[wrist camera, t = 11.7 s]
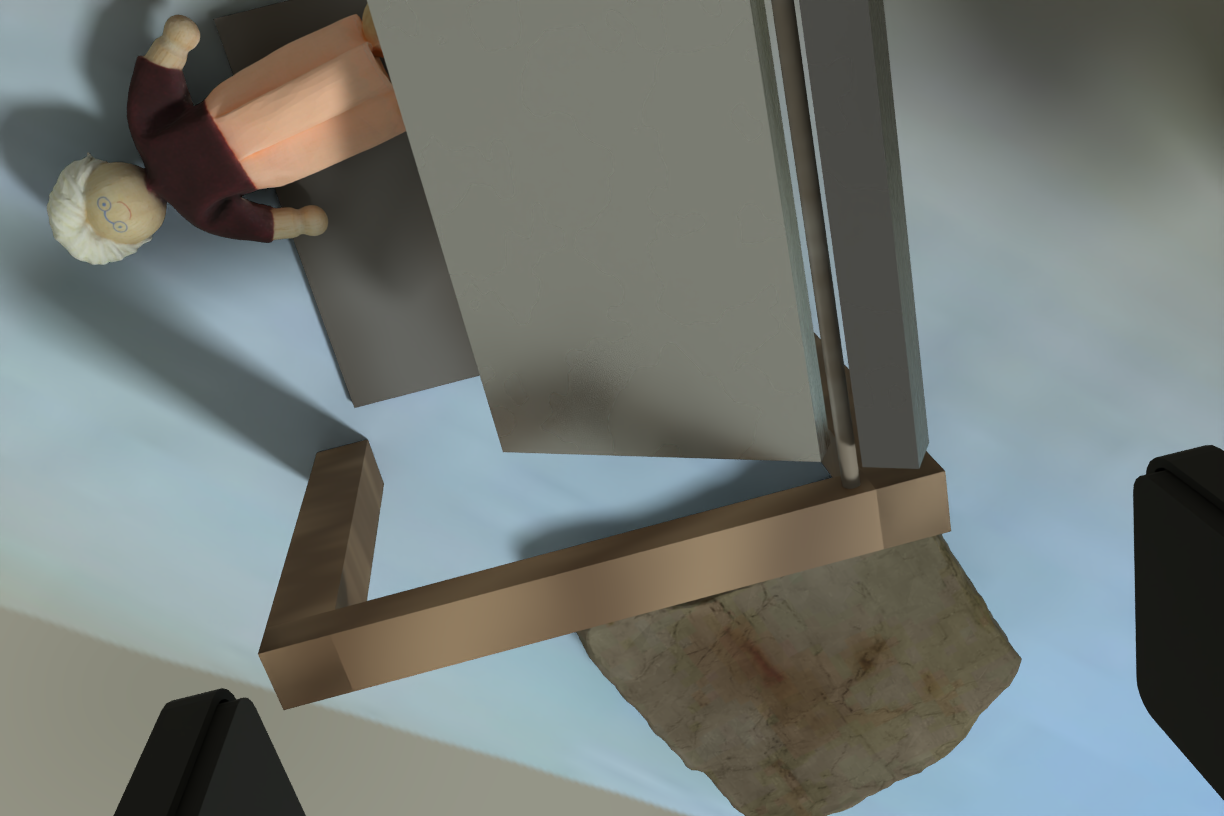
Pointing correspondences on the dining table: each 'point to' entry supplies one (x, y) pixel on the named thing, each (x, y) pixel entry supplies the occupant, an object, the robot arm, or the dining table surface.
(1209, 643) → the robot arm
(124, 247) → the grandmother figurine
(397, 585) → the dining table surface
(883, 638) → the marble piece
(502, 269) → the trapdoor plate
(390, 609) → the frame
